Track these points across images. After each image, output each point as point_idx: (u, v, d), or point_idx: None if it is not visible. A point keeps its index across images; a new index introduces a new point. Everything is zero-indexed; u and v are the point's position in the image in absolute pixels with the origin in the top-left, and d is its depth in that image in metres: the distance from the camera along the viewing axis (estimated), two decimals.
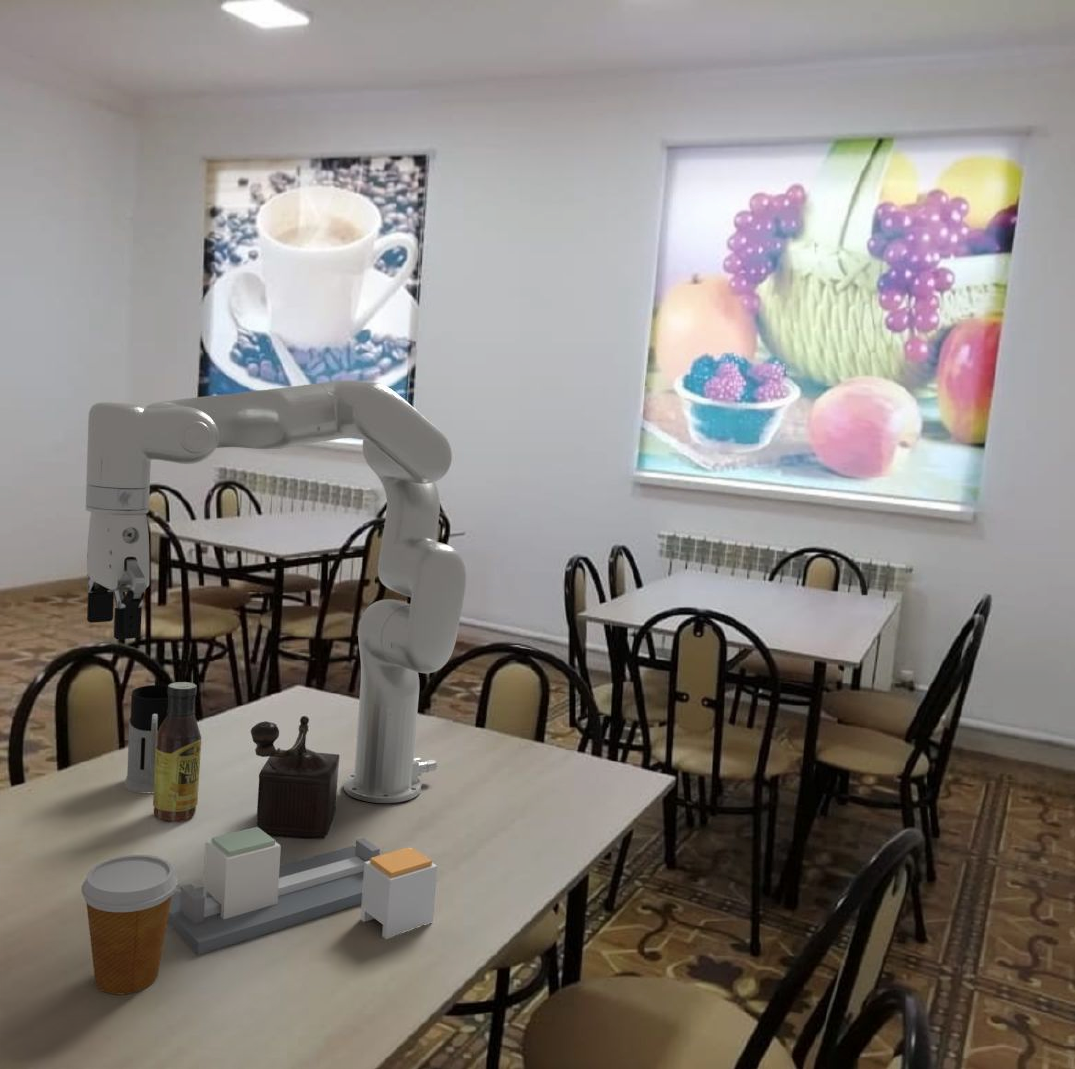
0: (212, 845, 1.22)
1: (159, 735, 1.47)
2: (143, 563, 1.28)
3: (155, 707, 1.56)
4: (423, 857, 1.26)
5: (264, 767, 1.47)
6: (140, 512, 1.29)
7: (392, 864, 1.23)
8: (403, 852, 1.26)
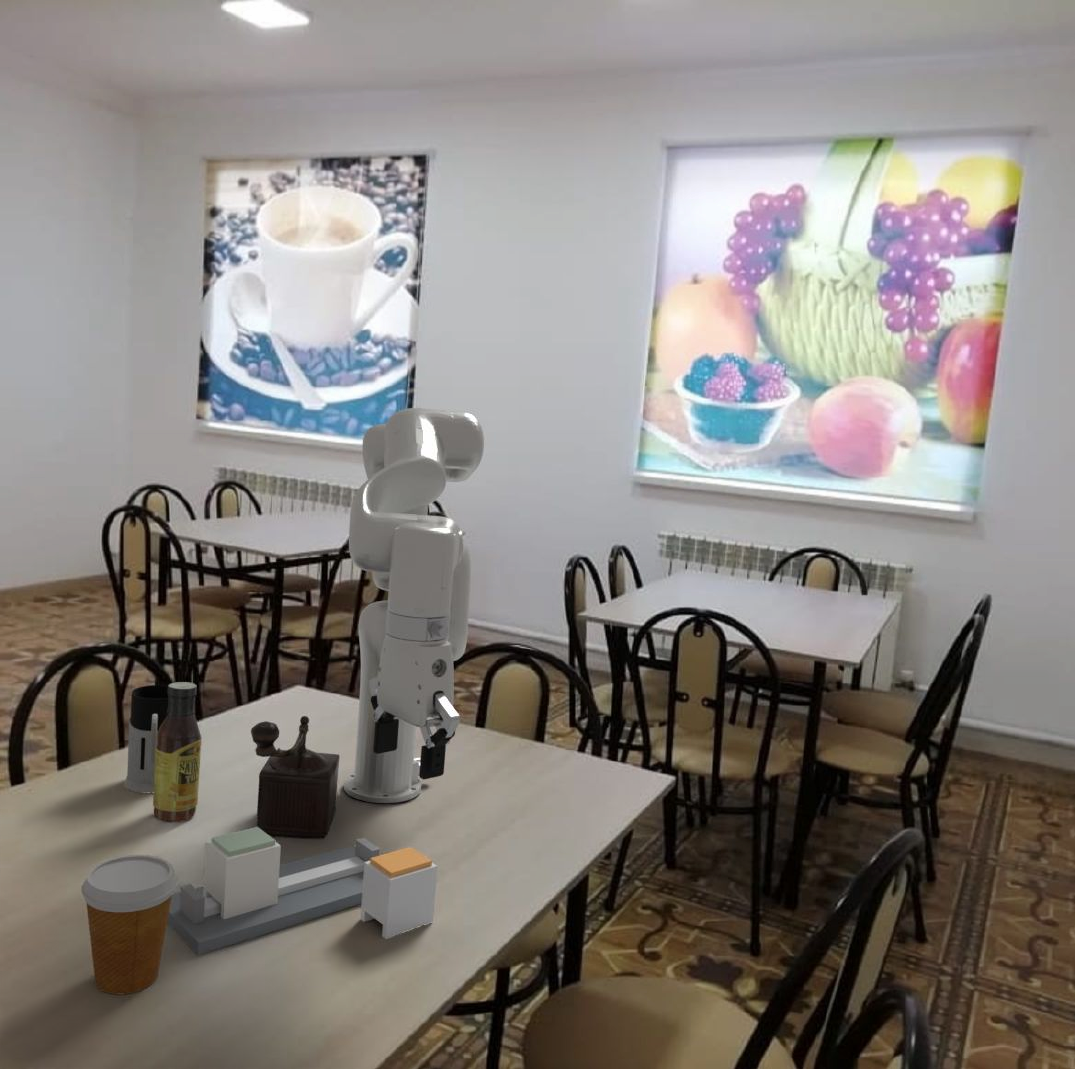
0: (212, 845, 1.22)
1: (159, 735, 1.47)
2: (449, 696, 1.19)
3: (155, 707, 1.56)
4: (423, 857, 1.26)
5: (264, 767, 1.47)
6: (445, 641, 1.20)
7: (392, 864, 1.23)
8: (403, 852, 1.26)
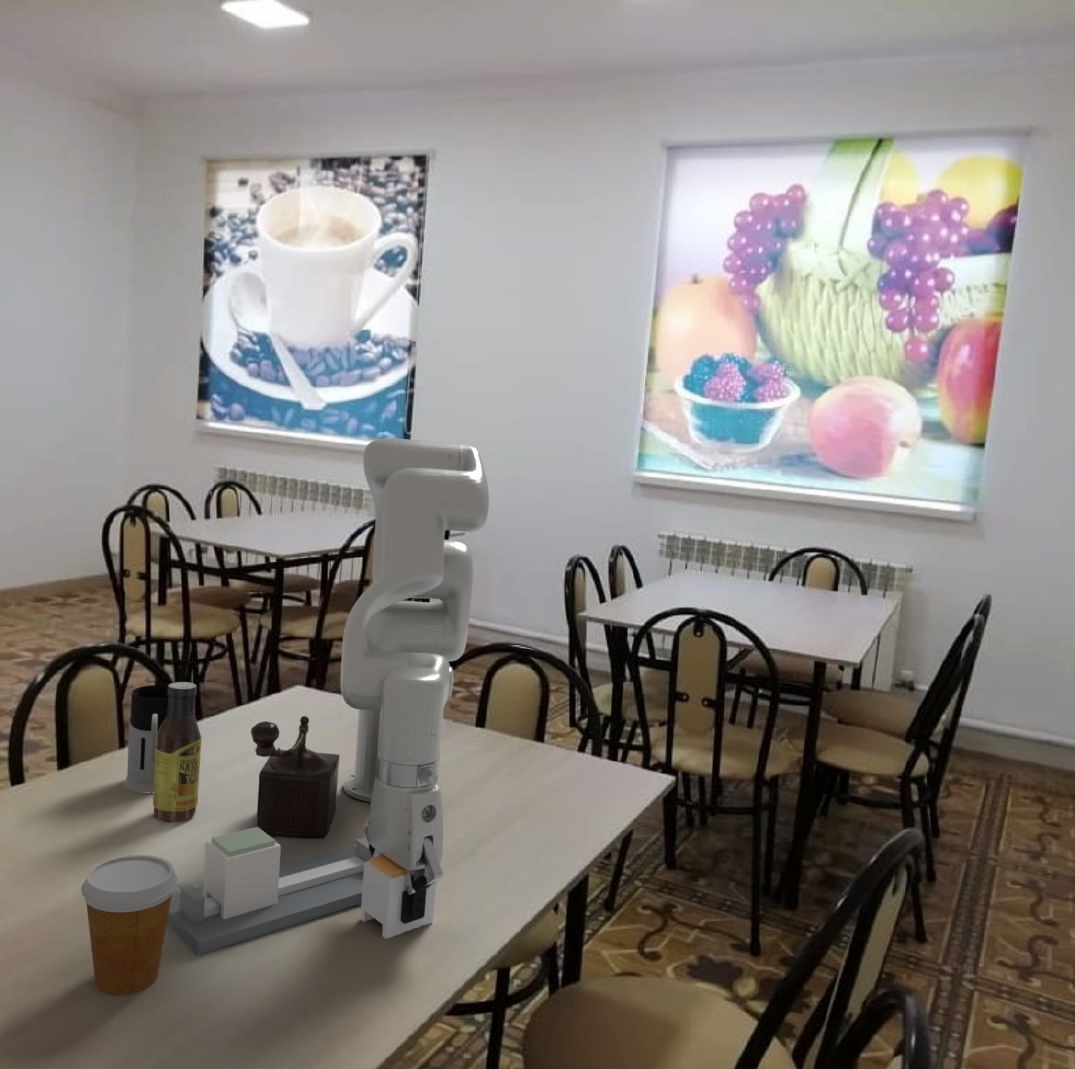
0: (212, 845, 1.22)
1: (159, 735, 1.47)
2: (438, 840, 1.21)
3: (156, 707, 1.56)
4: None
5: (264, 767, 1.47)
6: (434, 785, 1.22)
7: (392, 864, 1.23)
8: None
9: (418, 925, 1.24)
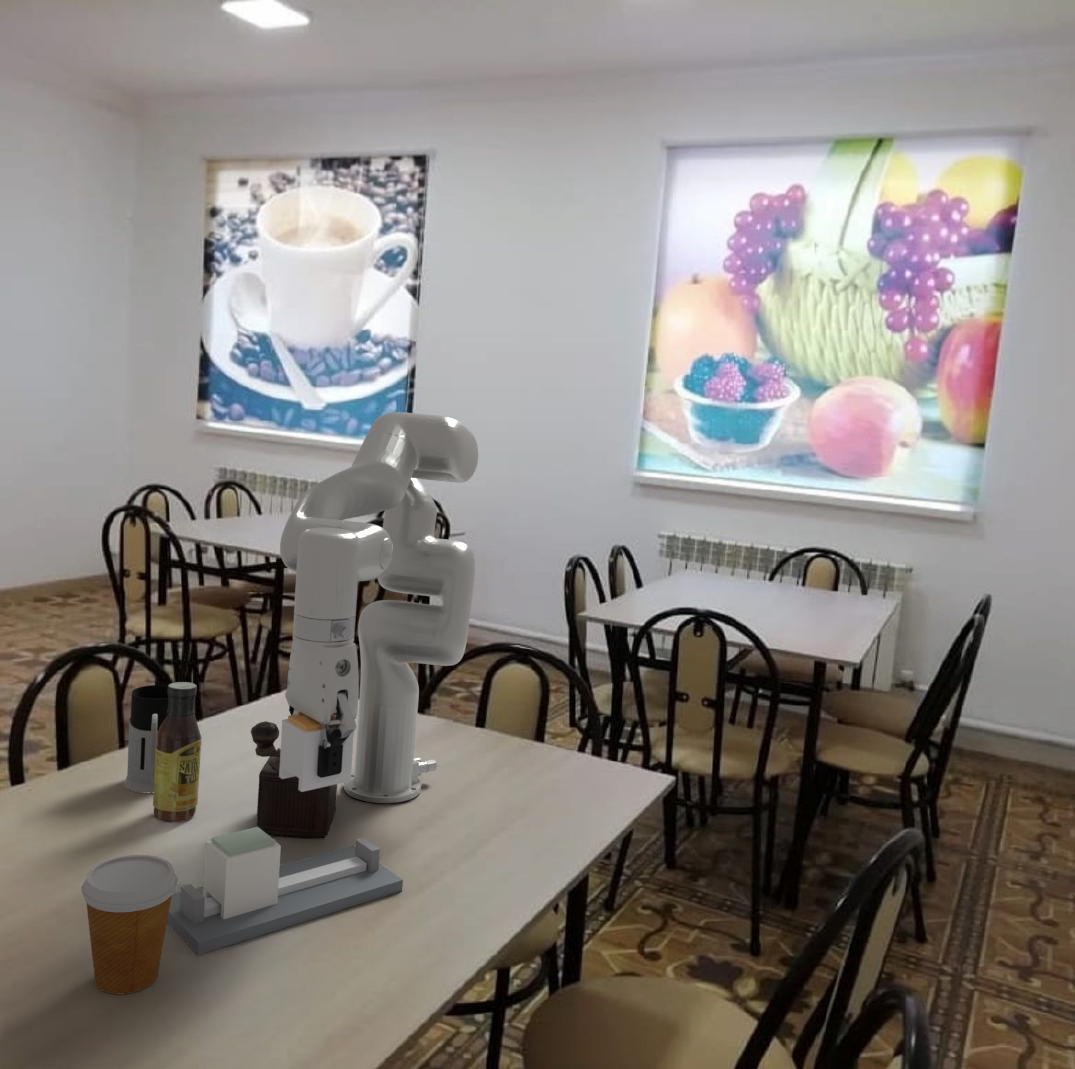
0: (212, 845, 1.22)
1: (159, 735, 1.47)
2: (353, 695, 1.24)
3: (155, 707, 1.56)
4: None
5: (264, 767, 1.47)
6: (349, 642, 1.25)
7: (309, 720, 1.26)
8: None
9: (335, 781, 1.27)
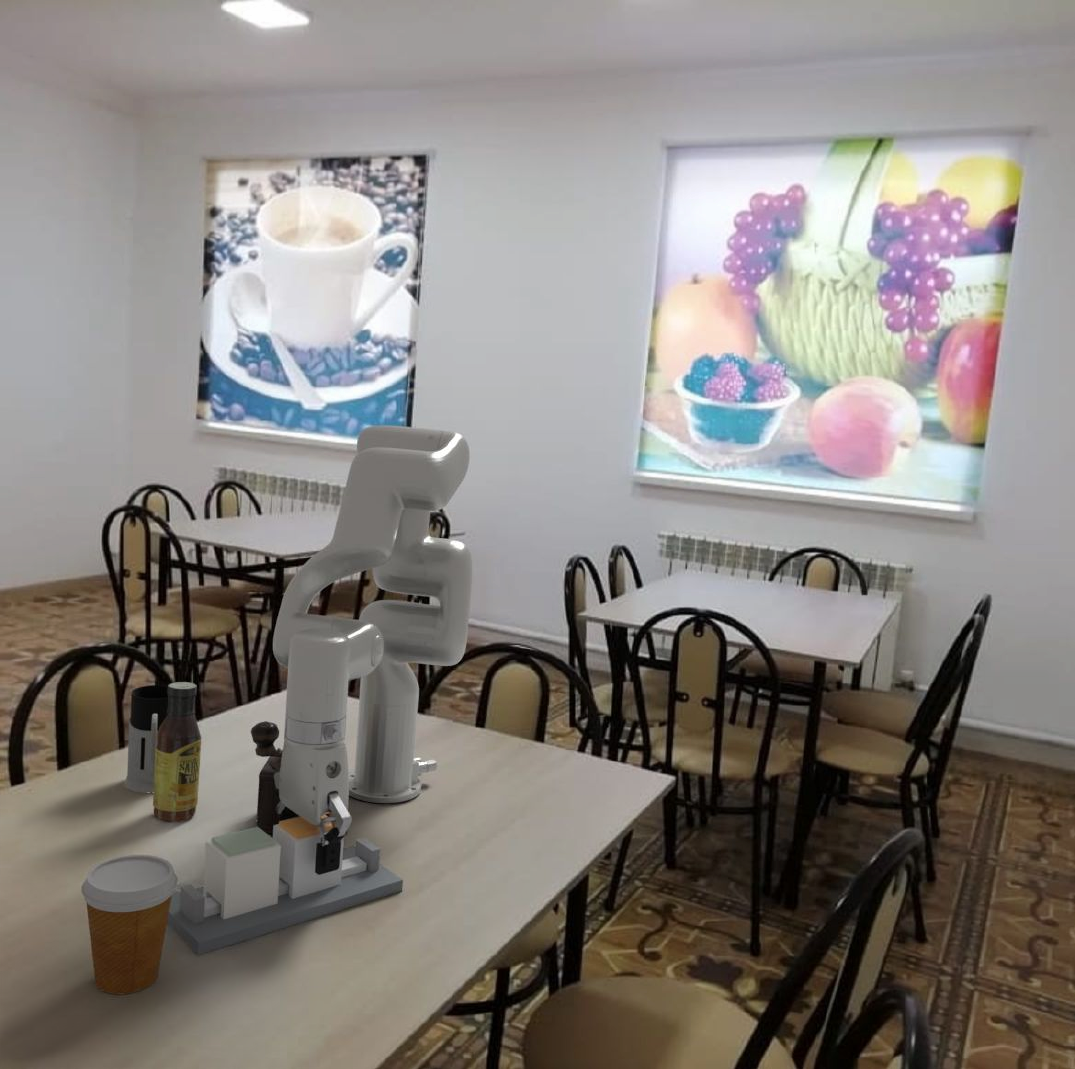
0: (212, 845, 1.22)
1: (159, 735, 1.47)
2: (344, 795, 1.26)
3: (155, 707, 1.56)
4: None
5: (264, 767, 1.47)
6: (340, 743, 1.26)
7: (299, 827, 1.27)
8: None
9: (325, 886, 1.29)
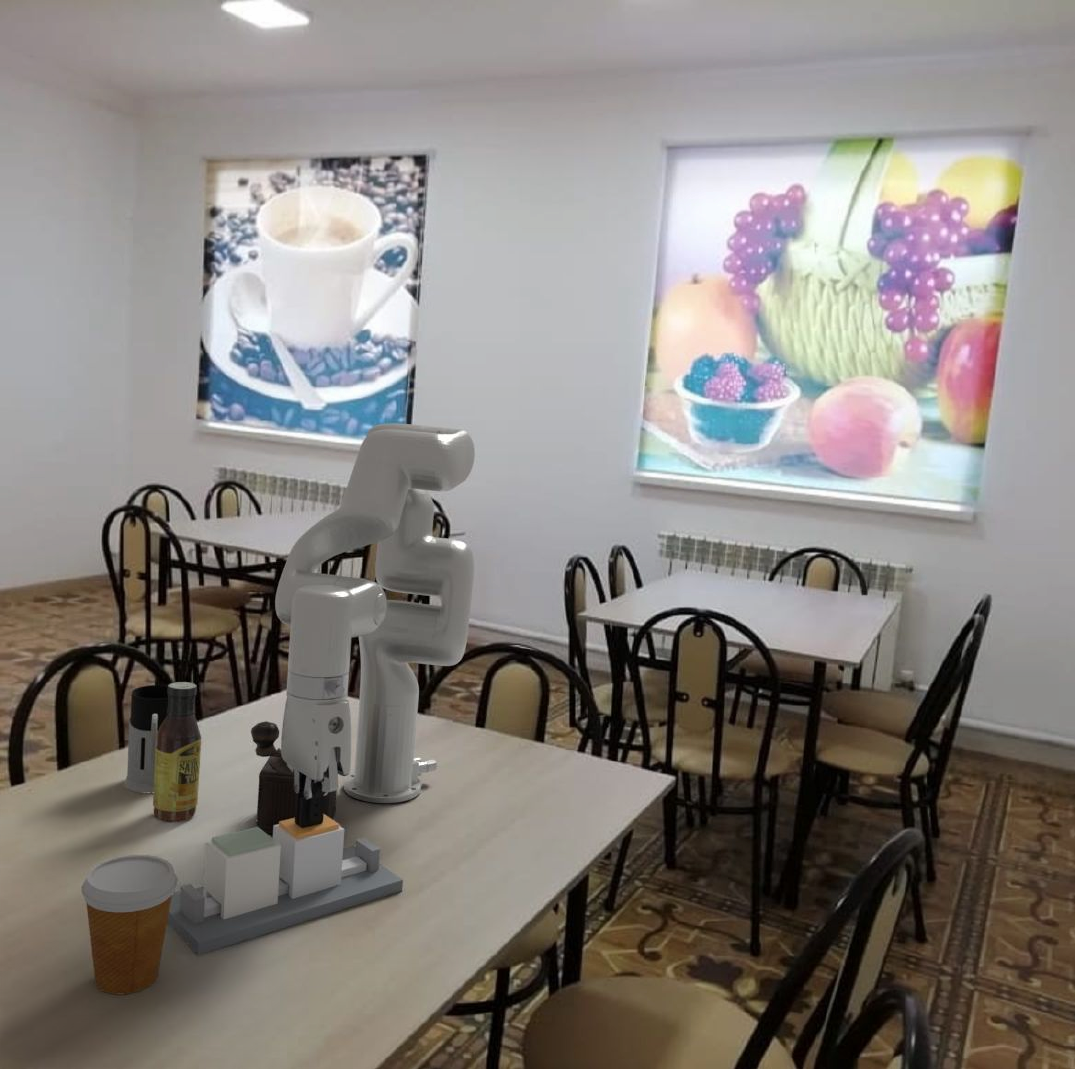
0: (212, 845, 1.22)
1: (159, 735, 1.47)
2: (346, 752, 1.25)
3: (155, 707, 1.56)
4: (331, 821, 1.30)
5: (264, 767, 1.47)
6: (342, 699, 1.25)
7: (299, 827, 1.27)
8: None
9: (325, 886, 1.29)
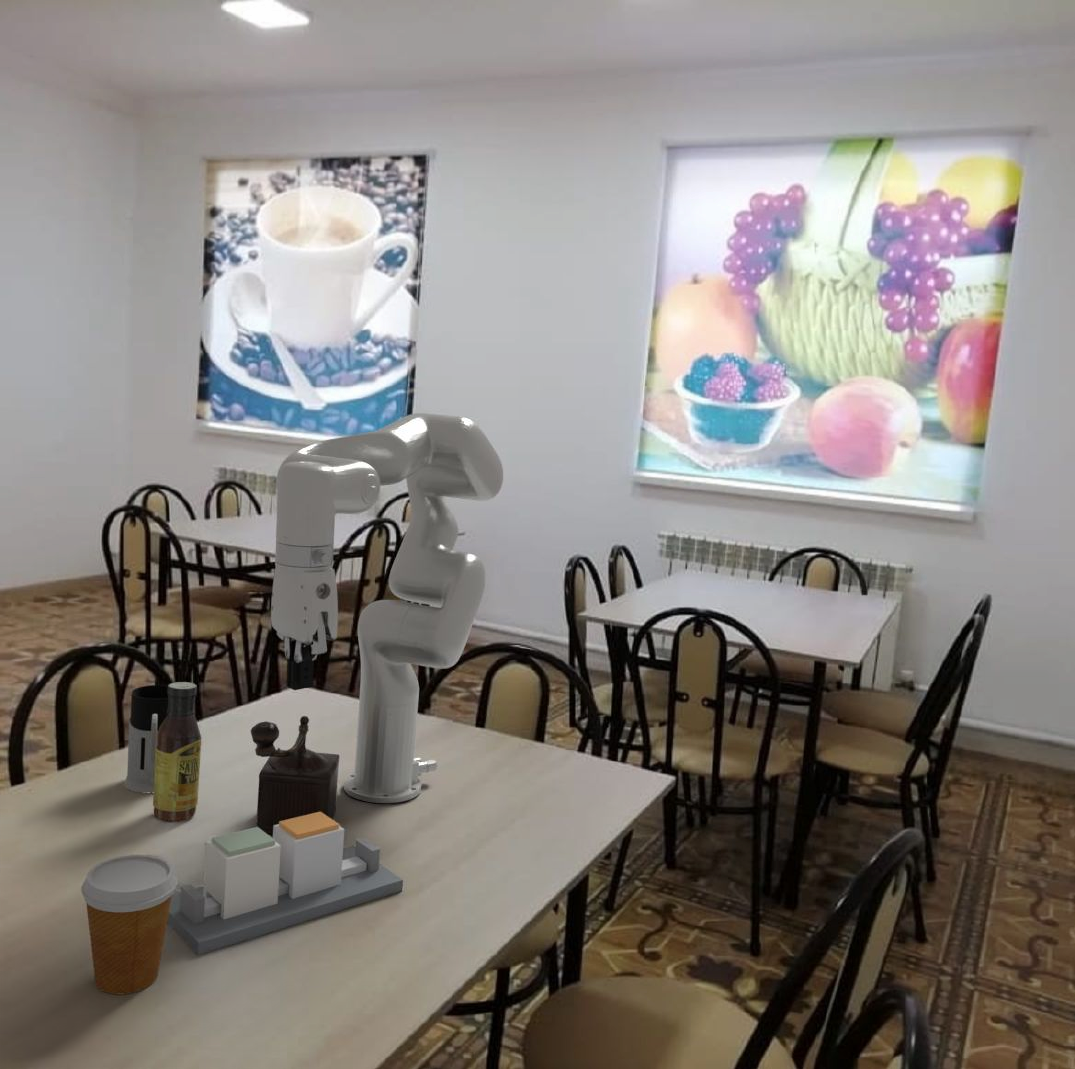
0: (212, 845, 1.22)
1: (159, 735, 1.47)
2: (333, 616, 1.33)
3: (155, 707, 1.56)
4: (331, 821, 1.30)
5: (264, 767, 1.47)
6: (328, 567, 1.34)
7: (299, 827, 1.27)
8: (312, 816, 1.31)
9: (325, 886, 1.29)
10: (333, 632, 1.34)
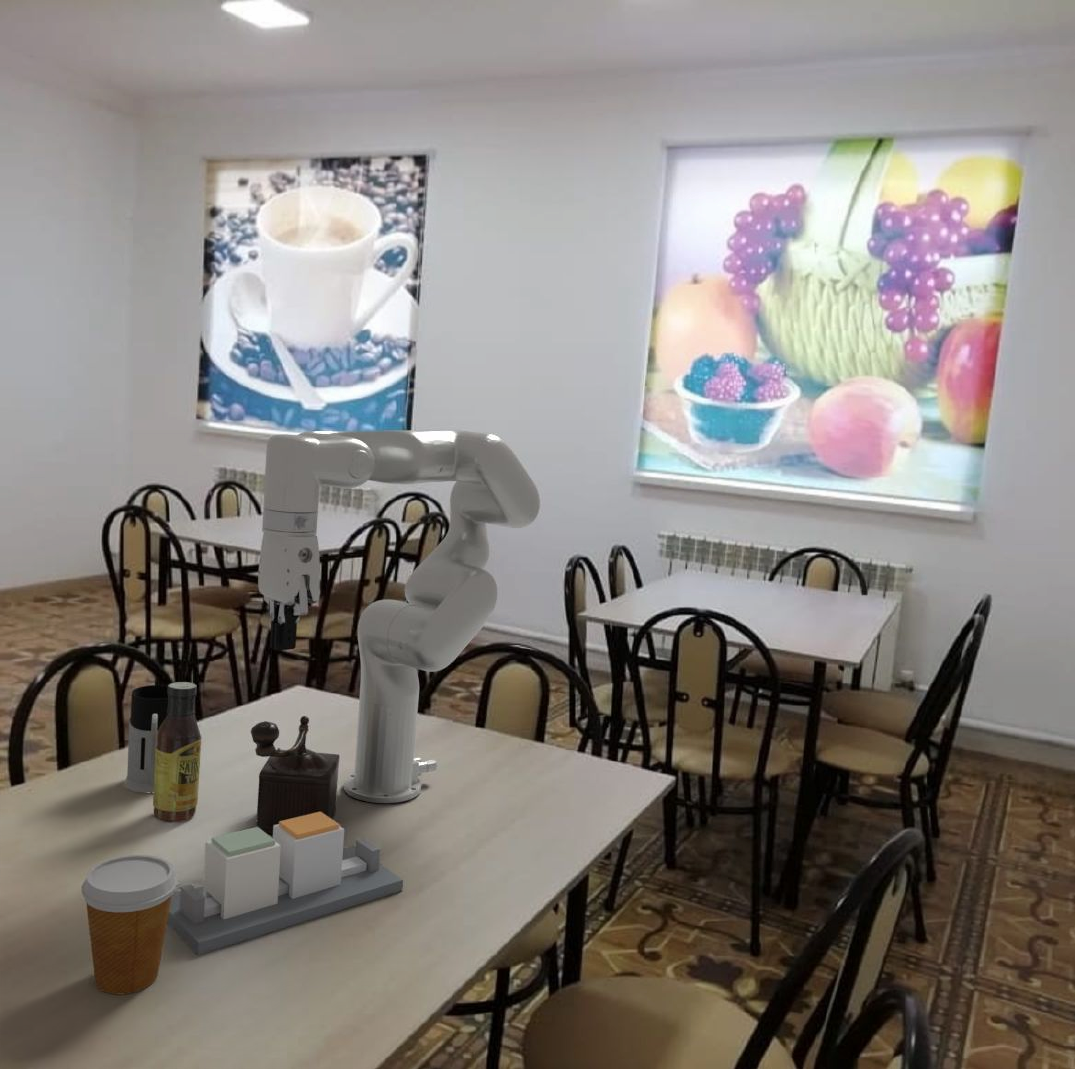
0: (212, 845, 1.22)
1: (159, 735, 1.47)
2: (315, 580, 1.41)
3: (155, 707, 1.56)
4: (331, 821, 1.30)
5: (264, 767, 1.47)
6: (312, 534, 1.42)
7: (299, 827, 1.27)
8: (312, 816, 1.31)
9: (325, 886, 1.29)
10: (314, 595, 1.42)
